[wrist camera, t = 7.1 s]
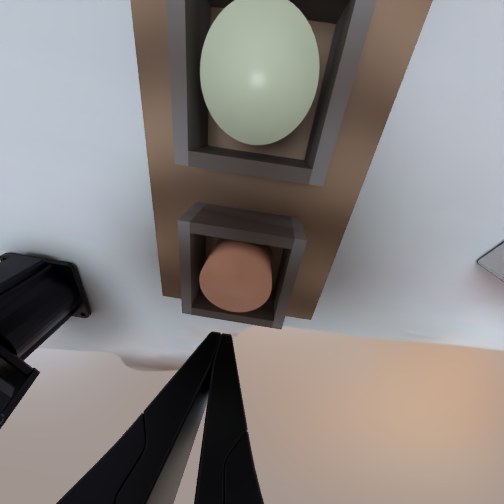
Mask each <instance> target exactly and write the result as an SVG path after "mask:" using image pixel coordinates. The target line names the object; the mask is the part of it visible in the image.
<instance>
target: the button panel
mask: <svg viewBox="0 0 504 504" xmlns="http://www.w3.org/2000/svg"><path fill="white" fill-rule="evenodd" d="M233 1H234V0H131V9H132V19H133V28H134V37H135V46H136V55H137V64H138V73H139V82H140V92H141V101H142V110H143V119H144V128H145V137H146V146H147V156H148V165H149V174H150V183H151V192H152V201H153V210H154V220H155V229H156V238H157V247H158V256H159V265H160V274H161V283H162V293H163V296H168V297H174V298H180V299H182V313H185V314H191V315H197V316H203V317H209V318H215V319H222V320H228V321H234V322H240V323H246V324H252V325H258V326H264V327H270V328H276V329H282V325H283V322H284V318H285V316H290V317H296V318H302V319H309V320H311V318H312V316H313V313H314V310H315V308H316V305H317V303H318V300H319V297H320V295H321V292H322V289H323V287H324V284H325V282H326V279H327V276H328V274H329V271H330V268H331V266H332V263H333V261H334V258H335V255H336V253H337V250H338V247H339V245H340V242H341V240H342V237H343V234H344V232H345V229H346V226H347V224H348V221H349V219H350V216H351V213H352V211H353V208H354V205H355V203H356V200H357V198H358V195H359V192H360V190H361V187H362V184H363V182H364V179H365V177H366V174H367V171H368V169H369V166H370V163H371V161H372V158H373V156H374V153H375V150H376V148H377V145H378V142H379V140H380V137H381V135H382V132H383V129H384V127H385V124H386V121H387V119H388V116H389V114H390V111H391V108H392V106H393V103H394V100H395V98H396V95H397V93H398V90H399V87H400V85H401V82H402V79H403V77H404V74H405V72H406V69H407V66H408V64H409V61H410V58H411V56H412V53H413V51H414V48H415V45H416V43H417V40H418V37H419V35H420V32H421V30H422V27H423V24H424V22H425V19H426V16H427V14H428V11H429V9H430V6H431V3H432V1H433V0H288V1H290V2H291V3H293V4H294V5H295V6H296V7H297V8H298V9H299V10H300V11H301V12H302V14H303V15H304V16H305V18H306V19H307V21H308V23H309V24H310V26H311V28H312V31H313V33H314V36H315V39H316V43H317V47H318V53H319V67H320V68H319V80H318V86H317V90H316V93H315V97H314V100H313V102H312V105H311V107H310V109H309V111H308V113H307V114H306V116H305V117H304V119H303V120H302V122H301V123H300V124H299V125H298V126H297V127H296V128H295V129H294V130H293V131H292V132H291V133H290V134H288V135H287V136H286V137H284V138H282V139H280V140H278V141H276V142H273V143H270V144H265V145H250V144H246V143H243V142H240V141H237V140H236V139H234V138H232V137H231V136H229V135H228V134H227V133H225V132H224V131H223V130H222V129H221V128H220V127H219V126H218V124H217V123H216V122H215V120H214V119H213V117H212V116H211V114H210V112H209V110H208V108H207V105H206V103H205V100H204V96H203V93H202V88H201V81H200V61H201V54H202V49H203V46H204V42H205V39H206V36H207V34H208V31H209V29H210V28H211V26H212V24H213V22H214V21H215V19H216V18H217V16H218V15H219V14H220V13H221V12H222V11H223V9H224V8H225V7H226V6H228V5H229V4H230V3H231V2H233ZM219 238H224V239H230V240H237V241H243V242H249V243H256V244H262V245H268V246H270V248H271V251H272V289H271V294H270V296H269V298H268V300H267V301H266V302H265V303H264V304H263V305H262V306H260V307H259V308H257V309H254V310H252V311H248V312H231V311H227V310H224V309H221V308H219V307H217V306H216V305H214V304H213V303H211V302H210V301H209V300H208V299H207V298H206V297H205V295H204V294H203V292H202V290H201V288H200V283H199V277H200V273H201V270H202V268H203V266H204V264H205V262H206V261H207V259H208V257H209V255H210V253H211V251H212V249H213V247H214V245H215V243H216V242H217V240H218V239H219Z"/></svg>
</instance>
